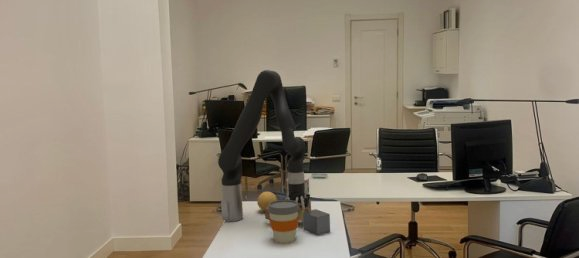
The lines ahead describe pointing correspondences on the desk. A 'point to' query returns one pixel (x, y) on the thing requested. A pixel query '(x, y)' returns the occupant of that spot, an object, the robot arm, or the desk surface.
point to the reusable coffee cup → (284, 220)
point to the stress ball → (265, 200)
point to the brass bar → (301, 213)
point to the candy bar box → (305, 187)
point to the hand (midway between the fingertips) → (297, 217)
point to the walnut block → (267, 214)
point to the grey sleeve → (316, 222)
